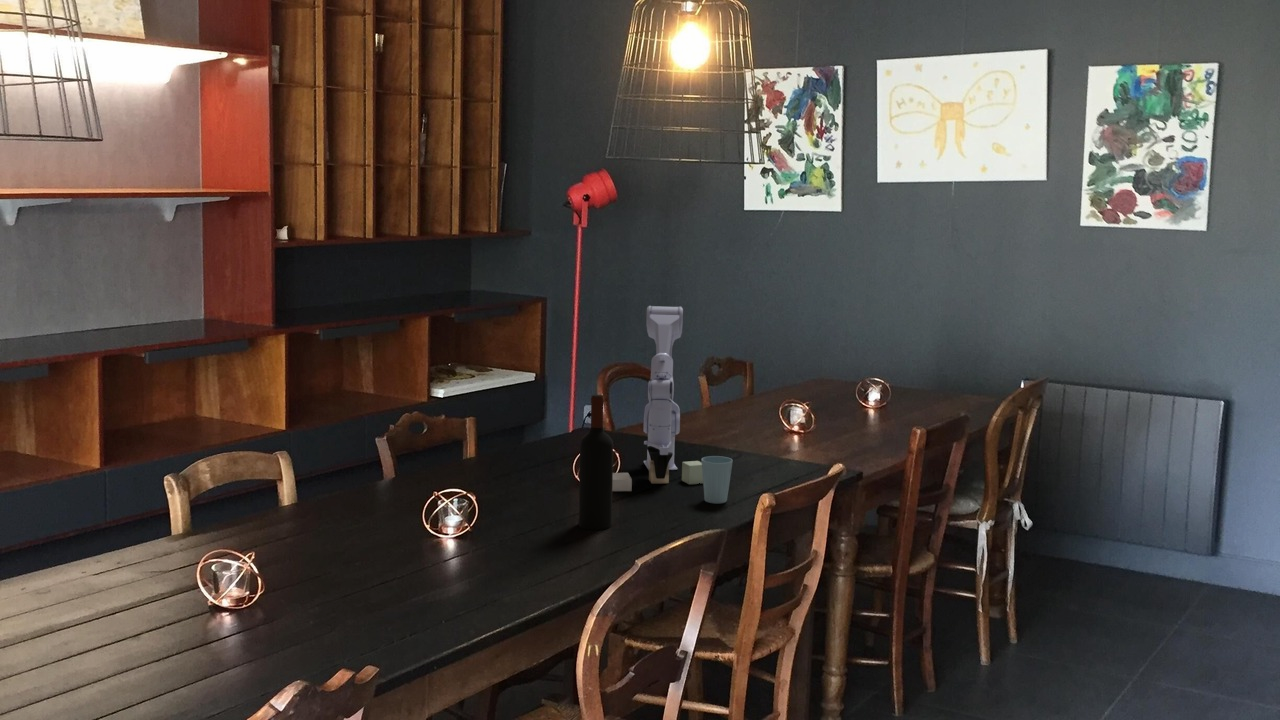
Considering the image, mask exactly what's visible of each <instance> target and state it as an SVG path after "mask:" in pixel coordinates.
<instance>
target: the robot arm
mask: <svg viewBox="0 0 1280 720" xmlns="http://www.w3.org/2000/svg"><path fill="white" fill-rule="evenodd" d="M683 318H684V308H683V307H682V305H681V306H657V305H656V306H655V305H648V306H647V308H646V332H647V334H648V335H647V336H648V337H649V338H650V339H653V340H654V343H655V347H656V348H655V351H656V352H655V353H656V354H655V355H653V357H652V358H651V361H650V362H651V365H650V380H648V384H647V386H648V387H647V398H648V403H647V404H646V405H645V406H644V413H643V432H644V433H645V434H647V440H644V441H643V445H646V450H647V451H646V452H647V453H646V454H647V455H646V456H647V457H646V460H643V464H644V465H645V467H646V469H647V470H648V471H649V461H654V466H655V474H656V478H657V479H664V478H665V475H666V471H667V467H668V464H669V471H677V470H678V467H677V466H676V464H675V444H676V443H675V439H676V435H678V434H680V428H681V427H680V426H681V421H680V420H681V412H680V411H681V410H680V407H679V405H678V404H677V402H674V393H675V391H674V390H675V383H674V376H673V375H674V359H673V357H672V356H673V346H674V343H675V341H676V340H678V339H680V338H681V337H682V334H683V325H684V324H683V323H684V322H683V321H684V319H683Z"/></svg>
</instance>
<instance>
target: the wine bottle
mask: <svg viewBox="0 0 1280 720" xmlns="http://www.w3.org/2000/svg"><path fill="white" fill-rule="evenodd" d="M604 397H605V396H604V395H603V394H591V398H590V404H591V405H590V430H589V431H588V432H587V433H586V434H584V436H582V438H581V439H580V443H579V473H578V474H579V475H578V476H579V482H578V483H579V485H578V487H579V490H578V495H579V496H578V527H579V528H581V529H585V530H589V531H591V530H592V531H599V530H601V531H602V530H603V531H604V530H606V529H610V528H611V527H612V526H613V524H612V523H613V491H612V486H613V473H614V441H613V438H611V436H610V435H609V434H608V433H606V431H604V430H605V429H604V403H605V401H604V400H605V398H604Z"/></svg>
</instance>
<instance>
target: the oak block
mask: <svg viewBox="0 0 1280 720" xmlns="http://www.w3.org/2000/svg"><path fill="white" fill-rule="evenodd" d="M669 477H670V470H669V464H668V467H667V471H666V475H665V478H664V479H657V478H656V474H655V466H654V461H649V470H648V480H649V482H650V483H651V484H669V483H670V481H669V480H670V478H669Z"/></svg>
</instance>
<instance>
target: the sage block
mask: <svg viewBox="0 0 1280 720" xmlns="http://www.w3.org/2000/svg"><path fill="white" fill-rule="evenodd" d="M681 481H682V482H684V483H686V484H688V485H697V484H699V483H700V484H703V473H702V461H700V460H691V461H682V465H681ZM700 484H699V485H700Z"/></svg>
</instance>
